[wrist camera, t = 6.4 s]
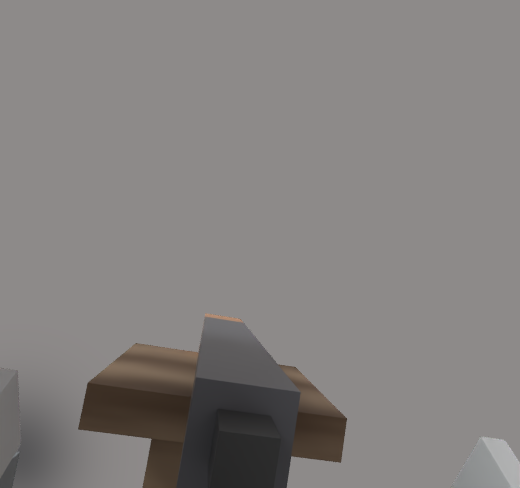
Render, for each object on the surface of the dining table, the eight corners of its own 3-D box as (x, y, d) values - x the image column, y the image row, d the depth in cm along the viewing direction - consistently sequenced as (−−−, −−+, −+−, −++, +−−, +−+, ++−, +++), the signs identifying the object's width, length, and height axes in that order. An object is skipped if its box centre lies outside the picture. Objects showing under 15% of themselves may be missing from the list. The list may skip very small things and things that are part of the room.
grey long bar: (297, 541, 9) (316, 411, 9) (169, 528, 9) (193, 393, 9) (234, 354, 32) (240, 319, 33) (198, 349, 32) (205, 313, 32)
